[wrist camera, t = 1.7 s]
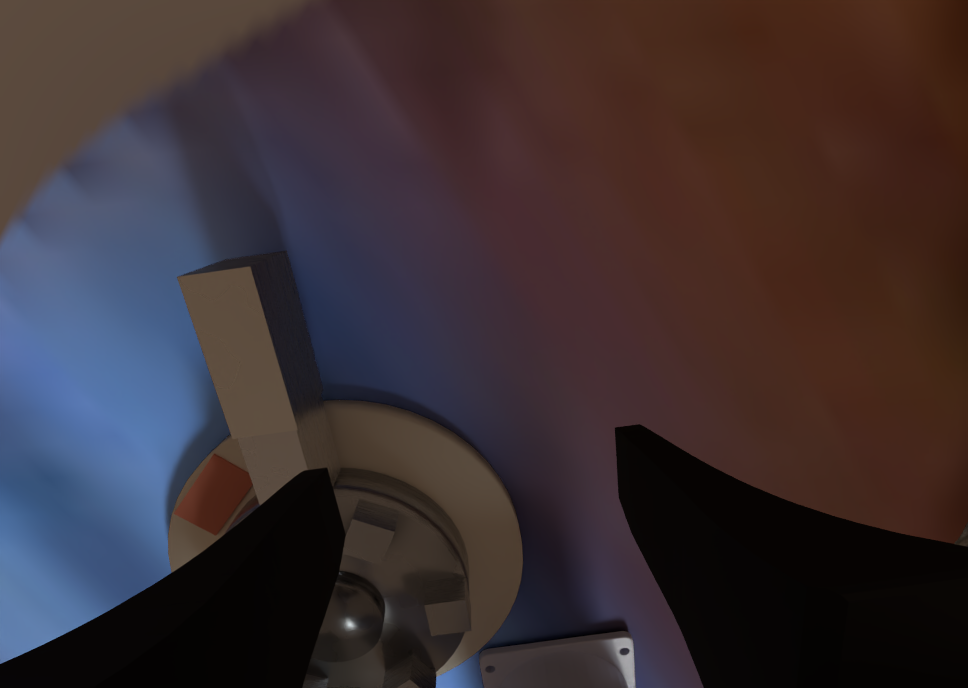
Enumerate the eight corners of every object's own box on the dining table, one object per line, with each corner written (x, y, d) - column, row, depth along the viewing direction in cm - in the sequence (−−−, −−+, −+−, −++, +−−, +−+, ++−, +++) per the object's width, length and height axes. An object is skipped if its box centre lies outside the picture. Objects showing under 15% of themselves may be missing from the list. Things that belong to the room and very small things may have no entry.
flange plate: (536, 652, 26) (539, 672, 25) (238, 692, 27) (229, 713, 26) (498, 375, 21) (500, 386, 20) (127, 427, 21) (110, 440, 20)
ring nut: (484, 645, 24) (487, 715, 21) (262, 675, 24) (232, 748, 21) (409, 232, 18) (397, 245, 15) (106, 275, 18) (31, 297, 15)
